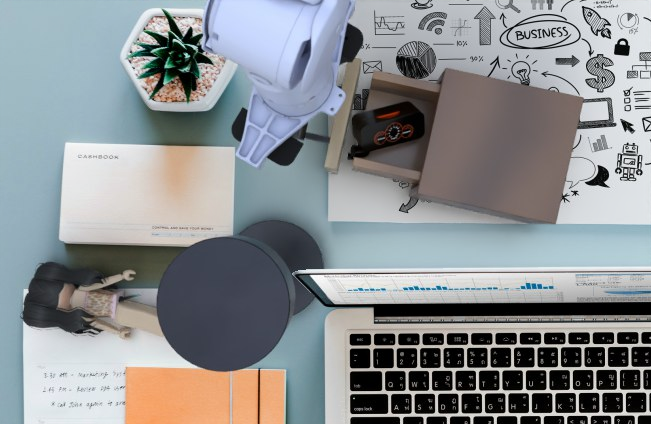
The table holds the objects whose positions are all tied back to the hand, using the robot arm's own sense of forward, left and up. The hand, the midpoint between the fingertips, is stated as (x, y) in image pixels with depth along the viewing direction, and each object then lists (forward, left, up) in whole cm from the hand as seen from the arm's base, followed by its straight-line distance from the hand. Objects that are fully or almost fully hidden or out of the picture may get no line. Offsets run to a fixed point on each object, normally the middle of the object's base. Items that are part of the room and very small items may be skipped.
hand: (303, 101), depth 57 cm
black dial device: (0, +7, -6) cm, 9 cm away
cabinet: (0, +18, -9) cm, 20 cm away
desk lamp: (+16, 0, -9) cm, 18 cm away
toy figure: (+23, -16, -9) cm, 29 cm away
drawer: (0, +7, -8) cm, 10 cm away
